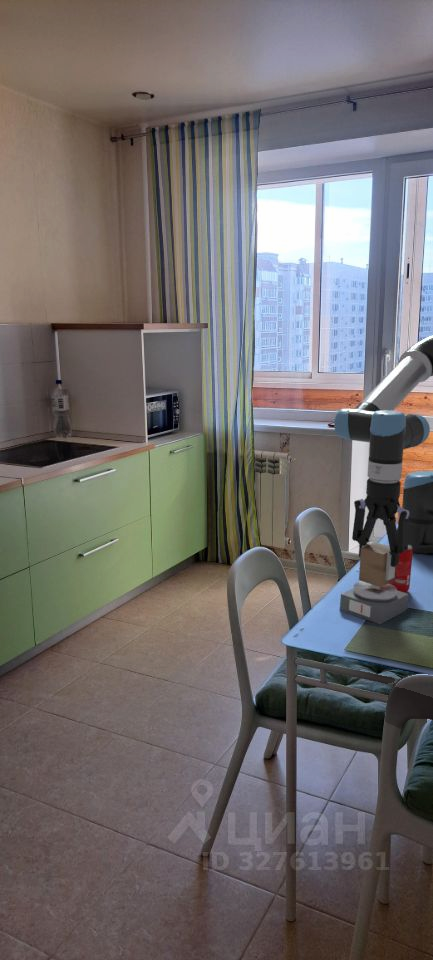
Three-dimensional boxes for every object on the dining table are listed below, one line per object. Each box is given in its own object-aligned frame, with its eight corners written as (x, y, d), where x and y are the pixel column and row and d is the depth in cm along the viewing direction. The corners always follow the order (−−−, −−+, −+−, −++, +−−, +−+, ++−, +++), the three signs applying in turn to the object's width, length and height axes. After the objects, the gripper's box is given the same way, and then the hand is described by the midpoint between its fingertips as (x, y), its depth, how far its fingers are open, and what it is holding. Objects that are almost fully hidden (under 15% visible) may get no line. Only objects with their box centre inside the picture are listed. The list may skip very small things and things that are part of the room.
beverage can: (385, 592, 177) (389, 547, 175) (390, 585, 182) (394, 541, 179) (406, 596, 175) (410, 550, 172) (411, 589, 179) (415, 545, 177)
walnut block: (372, 573, 169) (374, 542, 167) (394, 580, 165) (397, 548, 163) (358, 580, 165) (360, 548, 163) (381, 587, 161) (383, 554, 159)
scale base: (367, 596, 174) (368, 581, 174) (407, 609, 167) (408, 593, 166) (338, 610, 166) (339, 594, 165) (379, 625, 158) (380, 608, 157)
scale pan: (368, 582, 172) (368, 577, 172) (404, 594, 166) (405, 588, 165) (345, 593, 165) (345, 587, 165) (382, 606, 159) (382, 599, 158)
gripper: (339, 474, 163) (334, 568, 169) (413, 490, 150) (405, 590, 156) (357, 469, 168) (351, 560, 174) (430, 484, 155) (421, 581, 161)
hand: (377, 574), depth 165 cm, fingers closed on walnut block, 6 cm apart
